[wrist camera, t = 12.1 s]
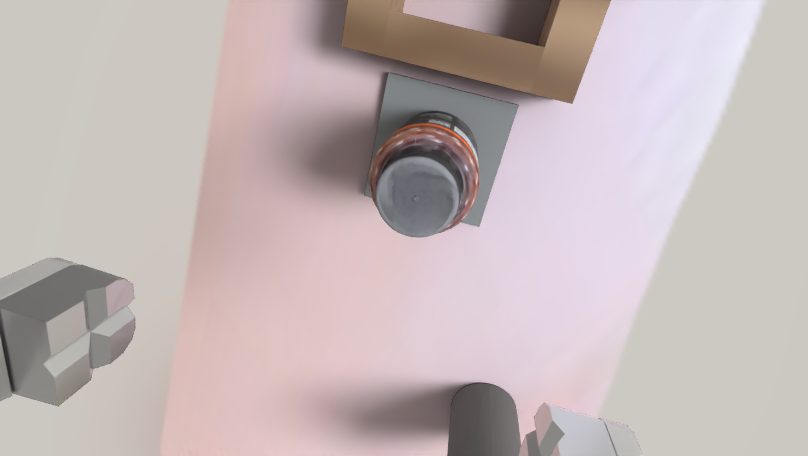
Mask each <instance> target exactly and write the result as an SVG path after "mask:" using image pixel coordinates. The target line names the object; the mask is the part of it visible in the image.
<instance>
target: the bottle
mask: <svg viewBox="0 0 808 456" xmlns="http://www.w3.org/2000/svg"><path fill="white" fill-rule="evenodd" d="M520 447H521V442H520V433H519V425H518V417H517V410H516V405H515V403H514V400H513V399H512V397H511V396H510V395H509V394H508V393H507V392H506V391H505V390H503V389H501V388H500V387H497V386H495V385H491V384H485V383H476V384H471V385H468V386H466V387H464V388H462V389H461V390H460V391H458V392H457V393H456V395H455V396H454V398H453V401H452V406H451V415H450V428H449V441H448V454H447V456H519V452H520Z"/></svg>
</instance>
